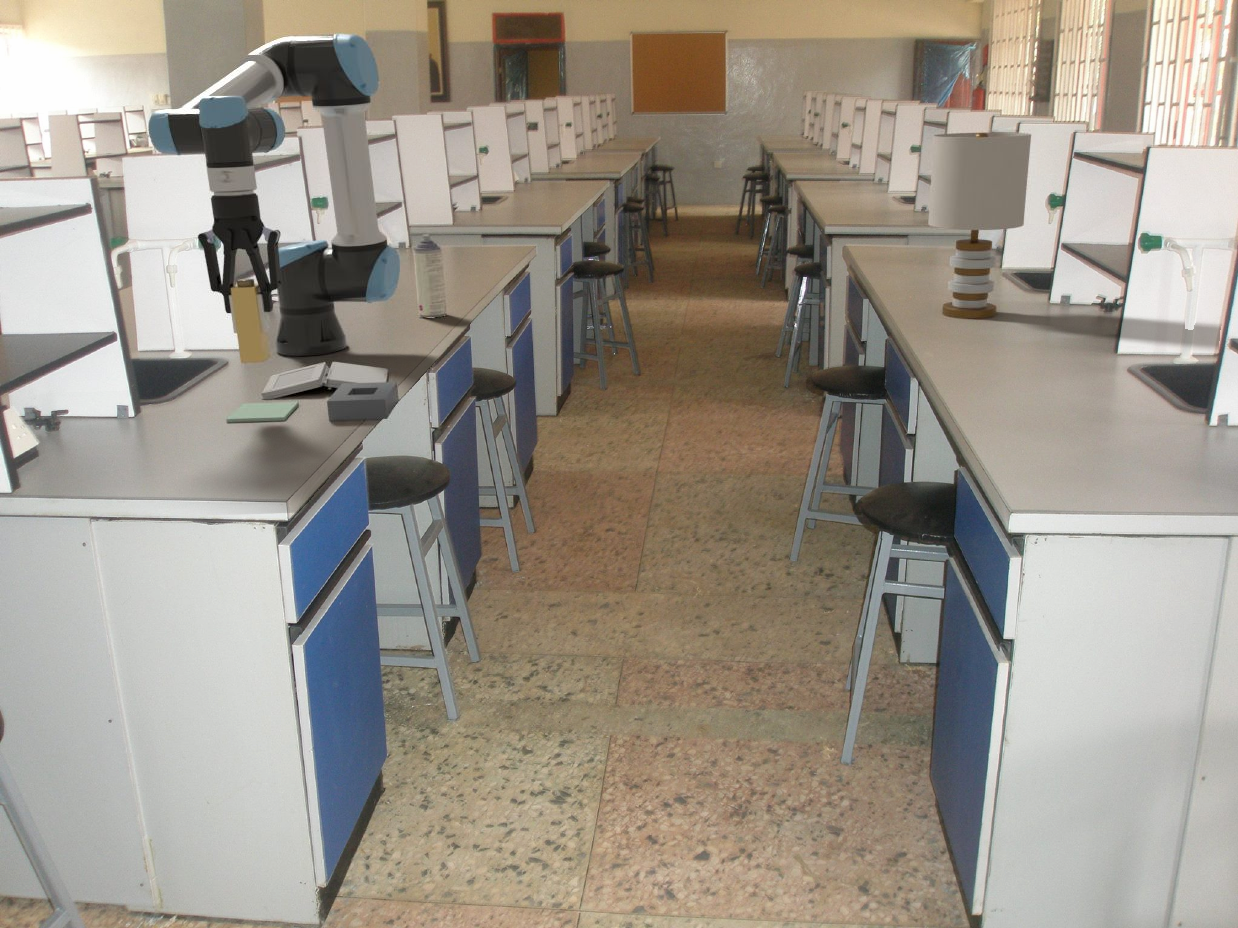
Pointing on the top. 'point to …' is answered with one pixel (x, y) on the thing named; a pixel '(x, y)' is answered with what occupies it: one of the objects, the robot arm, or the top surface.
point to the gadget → (321, 378)
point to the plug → (249, 322)
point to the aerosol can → (429, 278)
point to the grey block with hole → (363, 401)
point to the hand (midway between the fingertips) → (252, 330)
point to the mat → (263, 412)
